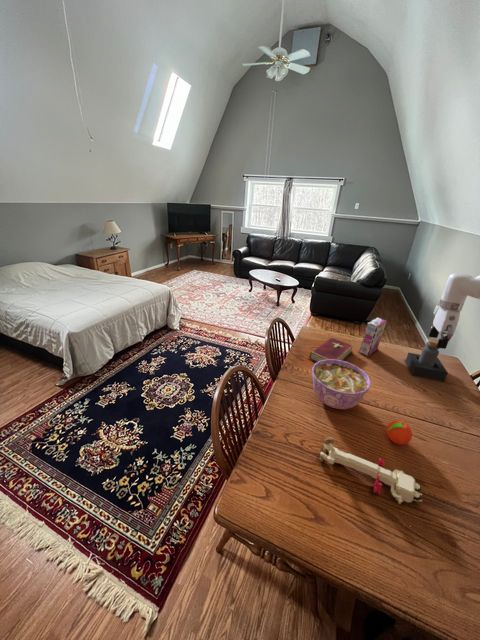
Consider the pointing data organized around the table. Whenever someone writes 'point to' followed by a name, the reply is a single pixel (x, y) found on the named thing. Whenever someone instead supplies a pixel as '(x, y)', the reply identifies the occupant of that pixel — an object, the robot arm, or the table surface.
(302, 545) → the table surface
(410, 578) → the table surface
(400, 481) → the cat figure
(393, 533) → the table surface
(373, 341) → the candy bar box
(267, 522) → the table surface
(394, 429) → the red tomato
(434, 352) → the bottle
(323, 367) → the bowl of food
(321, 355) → the hardcover book
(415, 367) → the holder
